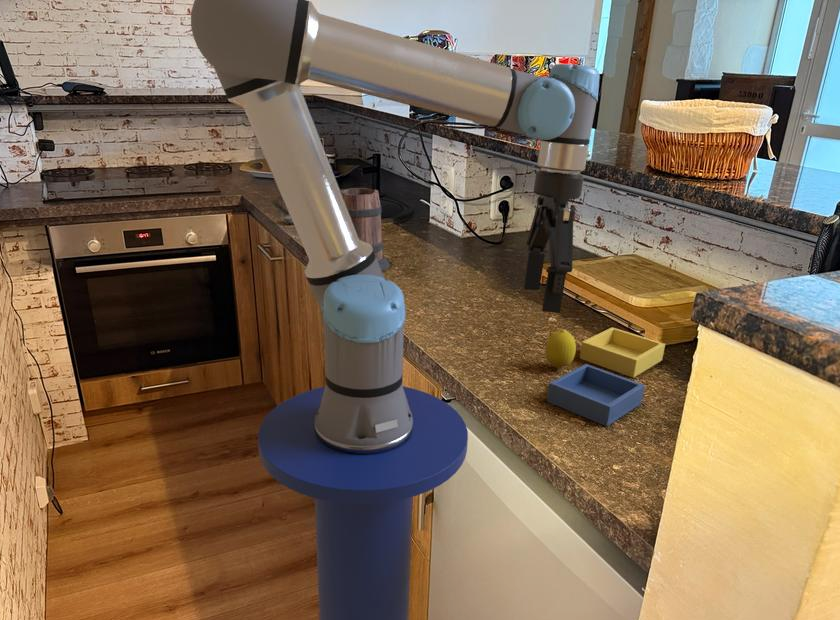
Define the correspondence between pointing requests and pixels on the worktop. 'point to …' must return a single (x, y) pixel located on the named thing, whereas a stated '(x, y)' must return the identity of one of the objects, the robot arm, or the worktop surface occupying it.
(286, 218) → the figurine
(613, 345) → the yellow bin
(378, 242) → the tankard
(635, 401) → the blue bin
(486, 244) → the worktop surface
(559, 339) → the lemon
